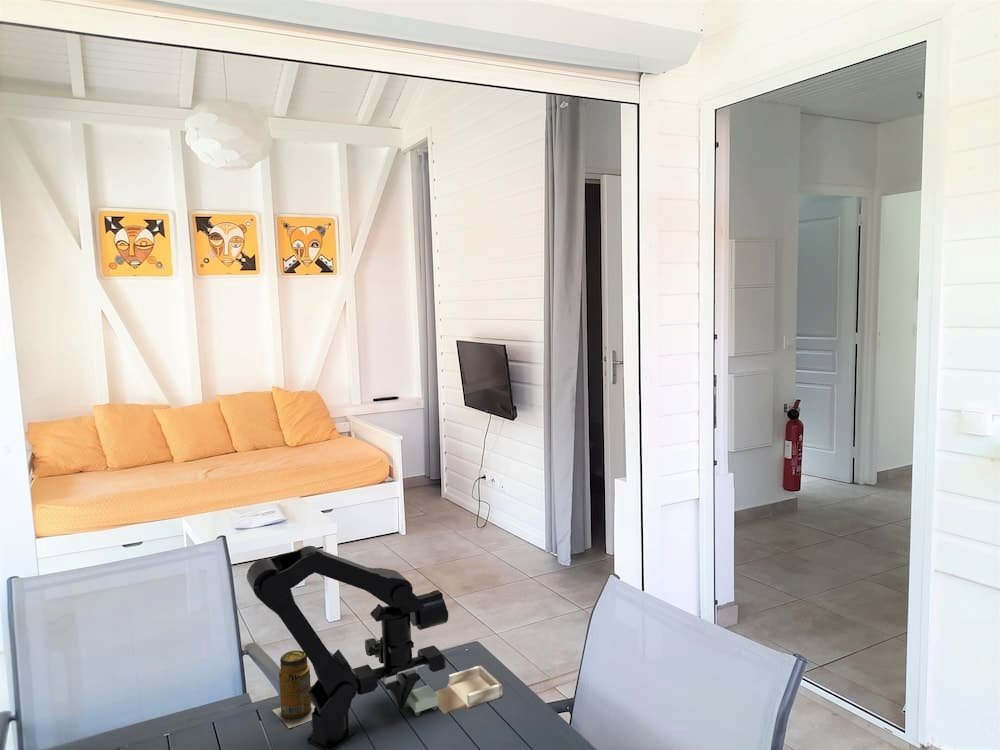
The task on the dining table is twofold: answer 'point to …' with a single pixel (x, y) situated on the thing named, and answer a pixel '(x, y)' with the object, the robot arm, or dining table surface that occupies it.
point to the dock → (468, 689)
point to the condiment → (294, 689)
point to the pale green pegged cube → (422, 699)
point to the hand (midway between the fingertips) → (400, 708)
